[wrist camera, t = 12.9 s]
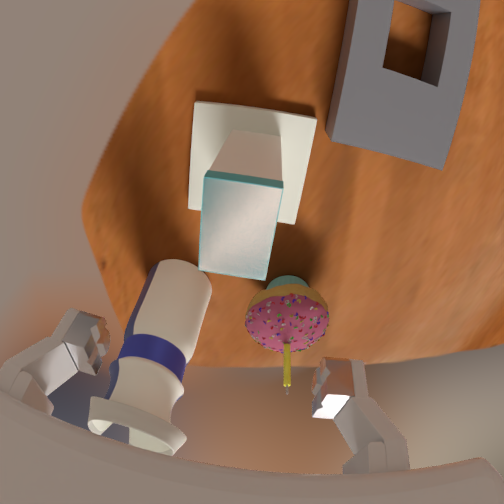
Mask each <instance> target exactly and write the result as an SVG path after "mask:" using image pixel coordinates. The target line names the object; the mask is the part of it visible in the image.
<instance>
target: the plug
mask: <svg viewBox="0 0 504 504" xmlns="http://www.w3.org/2000/svg"><path fill="white" fill-rule="evenodd" d="M283 189H284V185H283V181H282V153H281V136H275V135H269V134H263V133H256V132H249V131H242V130H234V129H232V131H231V133H230V134H229V136H228V138H227V139H226V141H225V143H224V145H223V146H222V148H221V150H220V151H219V153H218V155H217V157H216V158H215V160H214V162H213V164H212V165H211V167H210V169H209V170H207V172H206V174H205V175H204V179H203V193H202V208H201V225H200V244H199V266H198V270H200V271H206V272H212V273H218V274H225V275H231V276H238V277H244V278H251V279H258V280H264V281H265V278H266V274H267V269H268V264H269V259H270V254H271V249H272V244H273V239H274V234H275V229H276V224H277V219H278V214H279V209H280V204H281V199H282V194H283Z"/></svg>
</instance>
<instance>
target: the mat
mask: <svg viewBox="0 0 504 504" xmlns="http://www.w3.org/2000/svg"><path fill="white" fill-rule="evenodd" d="M316 123H317V119H316V117H311V116H306V115H301V114H295V113H290V112H284V111H278V110H271V109H265V108H258V107H250V106H243V105H234V104H225V103H216V102H205V101H196V102H195V104H194V116H193V129H192V143H191V159H190V177H189V199H188V209H193V210H201V208H202V193H203V179H204V175H205V174H206V172H207V170H209V169H210V167H211V165H212V164H213V162H214V160H215V158H216V157H217V155H218V153H219V151H220V150H221V148H222V146H223V145H224V143H225V141H226V139H227V138H228V136H229V134H230V133H231V131H232V129H234V130H242V131H249V132H256V133H263V134H269V135H275V136H281V153H282V181H283V185H284V189H283V194H282V199H281V204H280V209H279V214H278V219H277V222H282V223H288V224H294V225H295V221H296V216H297V212H298V207H299V203H300V199H301V194H302V189H303V185H304V180H305V176H306V171H307V166H308V162H309V157H310V152H311V147H312V143H313V138H314V133H315V128H316Z"/></svg>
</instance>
